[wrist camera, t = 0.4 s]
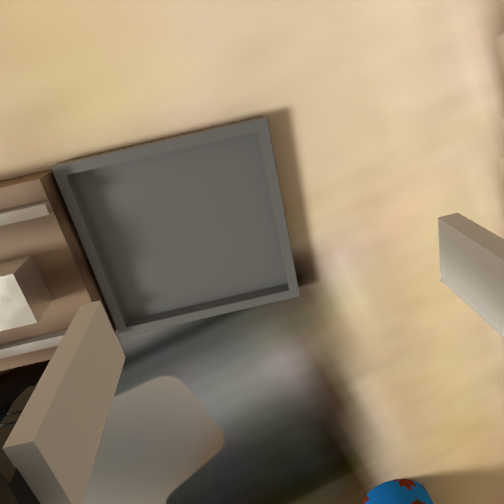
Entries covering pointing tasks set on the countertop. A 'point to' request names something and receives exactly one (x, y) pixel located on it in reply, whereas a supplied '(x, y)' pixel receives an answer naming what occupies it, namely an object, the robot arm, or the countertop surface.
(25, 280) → the beige block
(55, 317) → the slot board
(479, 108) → the countertop surface
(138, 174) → the tray
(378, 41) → the countertop surface
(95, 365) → the robot arm
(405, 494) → the thermos
